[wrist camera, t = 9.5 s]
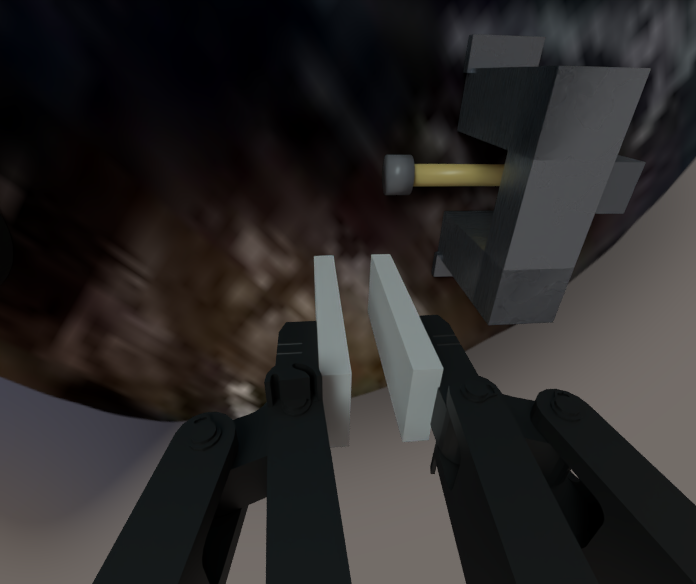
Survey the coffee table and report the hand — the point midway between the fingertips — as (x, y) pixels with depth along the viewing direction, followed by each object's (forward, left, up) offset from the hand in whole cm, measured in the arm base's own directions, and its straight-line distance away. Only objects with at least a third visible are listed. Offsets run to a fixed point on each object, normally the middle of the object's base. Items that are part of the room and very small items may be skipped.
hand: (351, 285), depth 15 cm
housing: (+14, 0, -19) cm, 24 cm away
